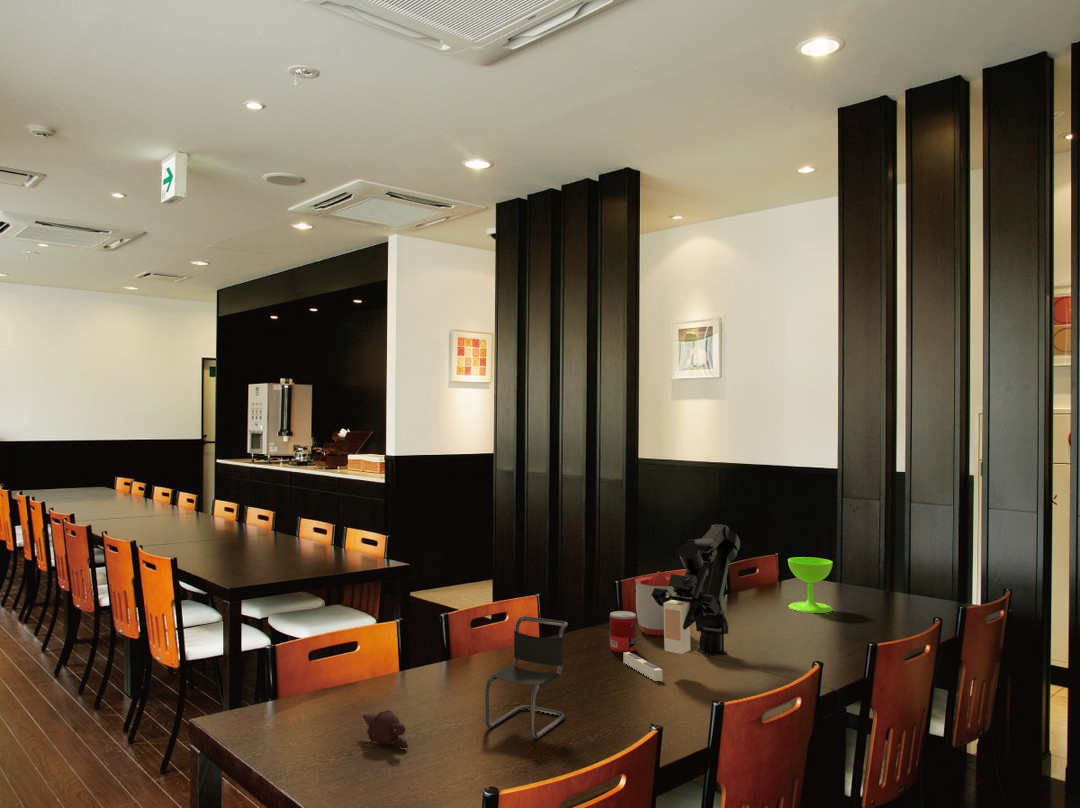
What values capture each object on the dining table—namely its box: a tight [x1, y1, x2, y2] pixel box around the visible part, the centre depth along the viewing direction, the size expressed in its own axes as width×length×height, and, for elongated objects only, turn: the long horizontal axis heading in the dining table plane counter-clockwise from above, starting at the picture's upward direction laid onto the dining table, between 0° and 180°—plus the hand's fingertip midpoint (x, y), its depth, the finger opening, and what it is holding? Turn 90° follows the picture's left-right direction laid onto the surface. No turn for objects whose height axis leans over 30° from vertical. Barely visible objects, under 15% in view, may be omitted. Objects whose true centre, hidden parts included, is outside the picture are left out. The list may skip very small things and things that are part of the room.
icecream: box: [362, 709, 409, 749], centre depth 168 cm, size 7×7×15 cm
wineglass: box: [787, 556, 834, 613], centre depth 296 cm, size 16×16×18 cm
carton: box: [663, 600, 691, 655], centre depth 216 cm, size 5×6×13 cm
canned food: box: [609, 610, 637, 654], centre depth 239 cm, size 8×8×11 cm
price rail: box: [622, 652, 663, 682], centre depth 218 cm, size 2×18×3 cm, turn 22°
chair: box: [483, 615, 569, 739], centre depth 180 cm, size 13×17×22 cm
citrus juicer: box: [634, 570, 677, 636], centre depth 261 cm, size 16×17×20 cm
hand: (674, 627), depth 215 cm, fingers closed on carton, 5 cm apart
